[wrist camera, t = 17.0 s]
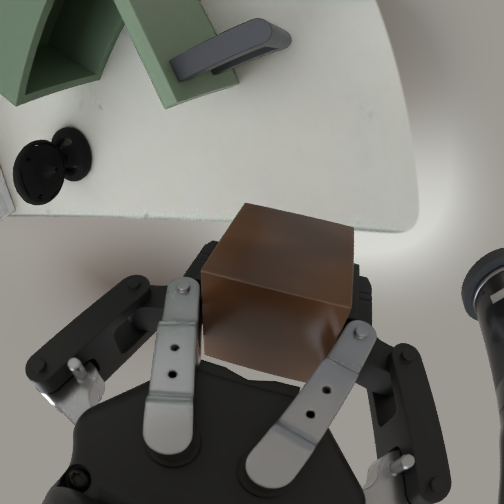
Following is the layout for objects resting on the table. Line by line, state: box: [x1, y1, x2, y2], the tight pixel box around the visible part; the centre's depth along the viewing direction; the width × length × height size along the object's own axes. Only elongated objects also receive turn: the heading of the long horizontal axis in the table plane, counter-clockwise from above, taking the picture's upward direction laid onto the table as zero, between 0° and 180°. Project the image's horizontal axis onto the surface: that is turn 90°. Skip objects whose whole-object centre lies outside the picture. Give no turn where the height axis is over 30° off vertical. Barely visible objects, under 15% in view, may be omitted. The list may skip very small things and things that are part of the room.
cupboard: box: [0, 0, 124, 106], centre depth 17 cm, size 11×16×12 cm
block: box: [201, 203, 354, 382], centre depth 13 cm, size 5×5×5 cm
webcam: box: [13, 127, 91, 205], centre depth 30 cm, size 8×8×10 cm
